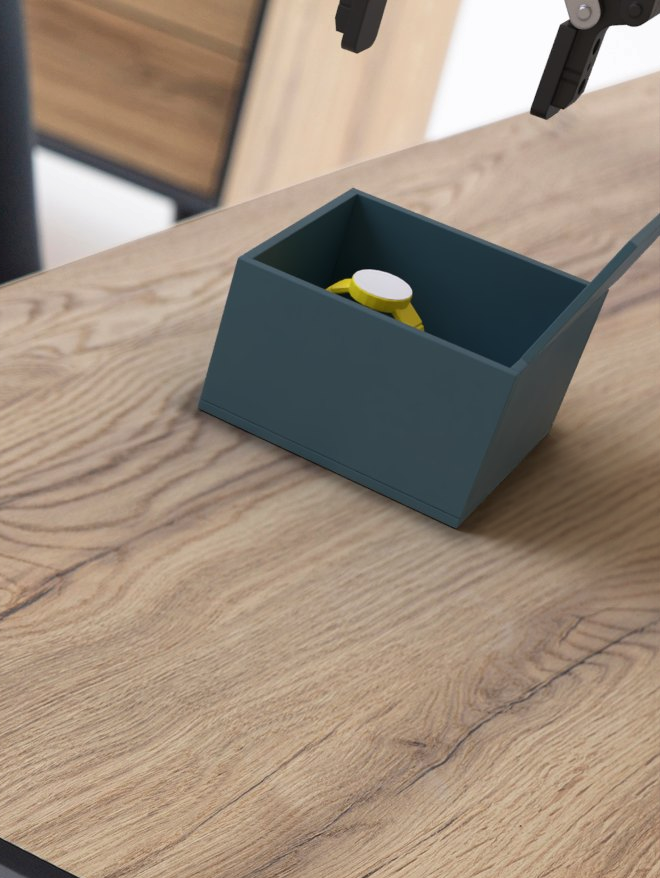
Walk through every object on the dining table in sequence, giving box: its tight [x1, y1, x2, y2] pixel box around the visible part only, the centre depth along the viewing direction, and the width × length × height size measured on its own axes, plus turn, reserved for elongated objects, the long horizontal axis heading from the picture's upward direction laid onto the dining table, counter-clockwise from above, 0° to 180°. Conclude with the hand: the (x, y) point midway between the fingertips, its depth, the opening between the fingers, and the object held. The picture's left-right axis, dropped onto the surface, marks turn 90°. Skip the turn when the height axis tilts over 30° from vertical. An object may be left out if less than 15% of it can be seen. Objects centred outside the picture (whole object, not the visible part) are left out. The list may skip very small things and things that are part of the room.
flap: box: [521, 212, 660, 364], centre depth 71 cm, size 6×12×1 cm
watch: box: [325, 269, 424, 331], centre depth 79 cm, size 6×3×6 cm, turn 52°
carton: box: [197, 187, 610, 529], centre depth 79 cm, size 13×12×8 cm
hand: (447, 79), depth 72 cm, fingers open, 8 cm apart
